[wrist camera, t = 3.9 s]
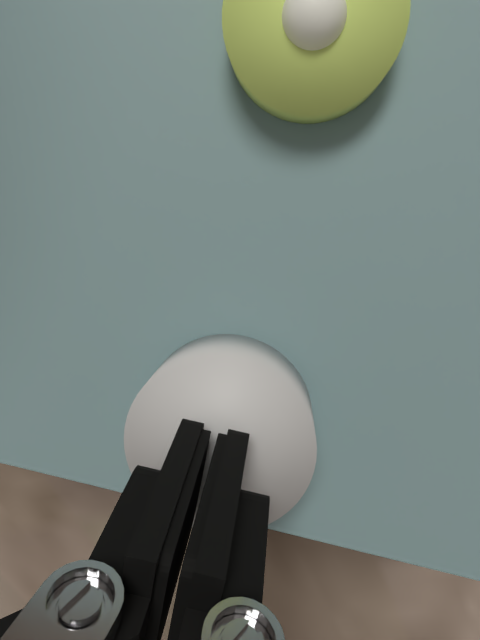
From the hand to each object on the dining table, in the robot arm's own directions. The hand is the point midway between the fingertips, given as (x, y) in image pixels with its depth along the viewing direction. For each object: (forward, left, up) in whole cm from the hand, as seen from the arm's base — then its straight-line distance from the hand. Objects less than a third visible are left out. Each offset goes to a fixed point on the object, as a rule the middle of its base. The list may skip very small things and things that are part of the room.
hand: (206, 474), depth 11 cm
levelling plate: (-7, 0, -5) cm, 8 cm away
